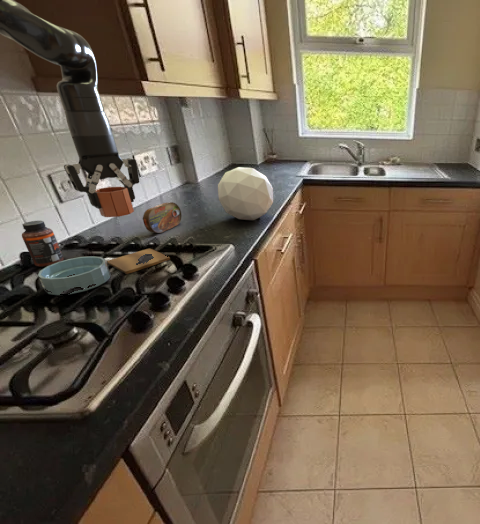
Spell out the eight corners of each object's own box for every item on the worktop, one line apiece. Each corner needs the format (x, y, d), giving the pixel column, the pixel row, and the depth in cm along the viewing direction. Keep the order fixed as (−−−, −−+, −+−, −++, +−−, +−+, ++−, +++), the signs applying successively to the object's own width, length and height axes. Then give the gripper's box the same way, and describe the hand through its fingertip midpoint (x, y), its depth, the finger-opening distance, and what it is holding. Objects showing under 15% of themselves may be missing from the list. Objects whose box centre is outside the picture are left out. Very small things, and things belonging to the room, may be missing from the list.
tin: (154, 236, 107) (147, 211, 104) (145, 236, 108) (138, 210, 104) (184, 222, 121) (179, 199, 117) (176, 221, 121) (171, 199, 118)
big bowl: (57, 302, 71) (49, 284, 69) (38, 286, 77) (30, 269, 75) (119, 281, 80) (114, 264, 78) (98, 268, 86) (93, 252, 84)
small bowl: (108, 218, 79) (100, 193, 76) (97, 214, 82) (89, 190, 80) (137, 212, 84) (131, 189, 81) (126, 208, 87) (119, 185, 84)
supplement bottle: (66, 262, 89) (50, 222, 84) (36, 269, 85) (17, 228, 80) (62, 256, 92) (46, 217, 88) (33, 262, 88) (15, 222, 84)
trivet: (126, 274, 83) (125, 271, 83) (107, 263, 89) (106, 260, 89) (170, 259, 92) (169, 257, 91) (150, 250, 97) (149, 248, 97)
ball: (263, 236, 128) (274, 203, 113) (208, 221, 121) (212, 183, 107) (272, 202, 139) (283, 167, 124) (222, 186, 132) (227, 147, 118)
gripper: (120, 130, 82) (139, 196, 89) (45, 133, 71) (73, 208, 79) (134, 132, 79) (153, 201, 86) (57, 135, 68) (86, 214, 75)
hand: (115, 204), depth 82 cm, fingers closed on small bowl, 6 cm apart
